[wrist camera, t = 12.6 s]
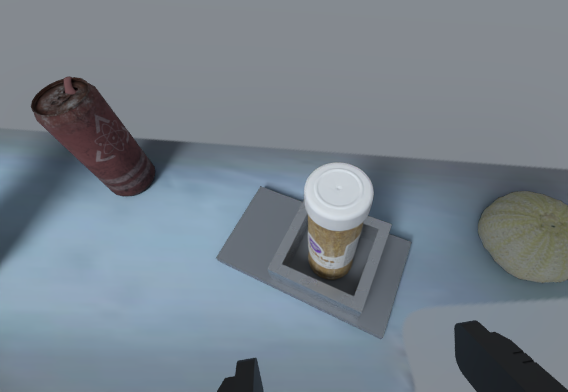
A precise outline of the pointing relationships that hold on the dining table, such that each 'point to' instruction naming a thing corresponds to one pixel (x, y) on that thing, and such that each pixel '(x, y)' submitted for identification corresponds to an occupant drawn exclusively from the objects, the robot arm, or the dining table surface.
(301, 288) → the collar
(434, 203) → the dining table surface
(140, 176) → the can
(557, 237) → the sea urchin shell
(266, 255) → the slate board
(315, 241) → the sprinkles bottle
